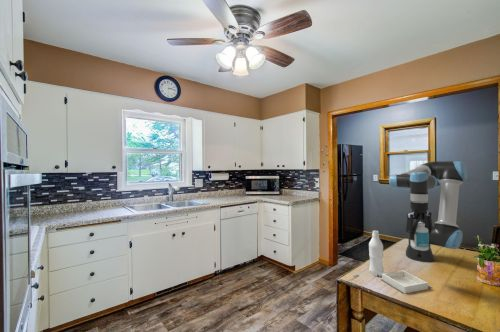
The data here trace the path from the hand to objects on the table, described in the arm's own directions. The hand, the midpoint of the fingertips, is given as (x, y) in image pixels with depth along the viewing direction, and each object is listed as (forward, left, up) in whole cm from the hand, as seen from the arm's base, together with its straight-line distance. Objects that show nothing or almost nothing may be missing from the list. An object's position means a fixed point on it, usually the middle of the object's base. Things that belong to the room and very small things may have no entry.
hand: (419, 245), depth 122 cm
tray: (+10, 0, -19) cm, 22 cm away
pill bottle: (0, 0, -2) cm, 2 cm away
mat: (+9, 0, -20) cm, 22 cm away
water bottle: (+15, -13, -20) cm, 28 cm away
